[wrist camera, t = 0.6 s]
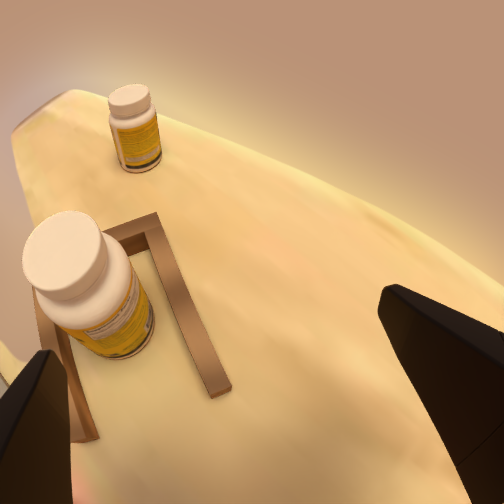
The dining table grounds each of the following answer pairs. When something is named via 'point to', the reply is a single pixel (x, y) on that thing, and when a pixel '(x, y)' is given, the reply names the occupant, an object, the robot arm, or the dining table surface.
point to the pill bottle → (88, 285)
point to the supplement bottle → (134, 128)
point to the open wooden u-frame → (152, 236)
